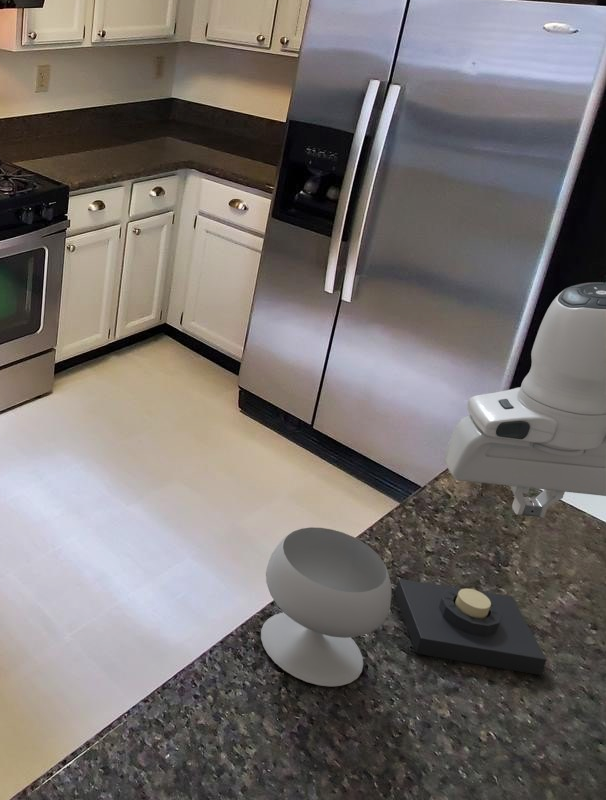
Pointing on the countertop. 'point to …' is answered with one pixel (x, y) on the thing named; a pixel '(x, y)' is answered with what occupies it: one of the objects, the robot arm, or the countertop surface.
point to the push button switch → (473, 603)
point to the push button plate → (468, 628)
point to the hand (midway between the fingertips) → (527, 513)
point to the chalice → (324, 604)
